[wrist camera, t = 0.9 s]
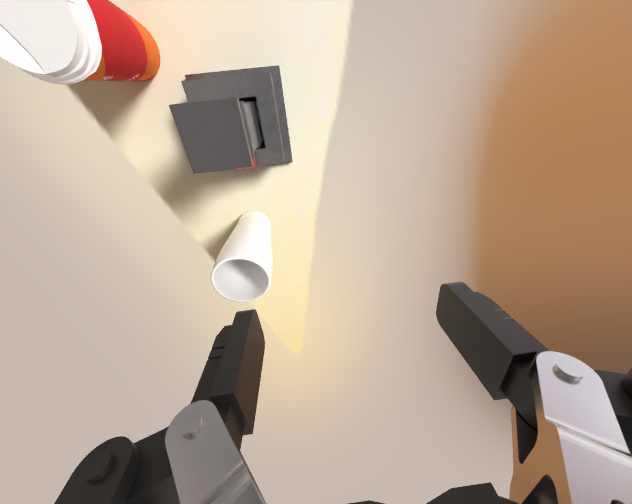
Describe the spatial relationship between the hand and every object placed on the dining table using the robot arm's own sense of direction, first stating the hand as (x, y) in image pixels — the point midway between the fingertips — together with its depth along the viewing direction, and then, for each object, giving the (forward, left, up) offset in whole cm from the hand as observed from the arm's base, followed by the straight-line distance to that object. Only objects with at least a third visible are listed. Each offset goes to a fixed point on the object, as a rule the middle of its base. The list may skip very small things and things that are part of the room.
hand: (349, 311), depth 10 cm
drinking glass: (0, -13, -30) cm, 32 cm away
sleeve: (-9, -1, -30) cm, 31 cm away
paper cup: (-23, -2, -30) cm, 38 cm away
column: (-9, -1, -30) cm, 31 cm away
